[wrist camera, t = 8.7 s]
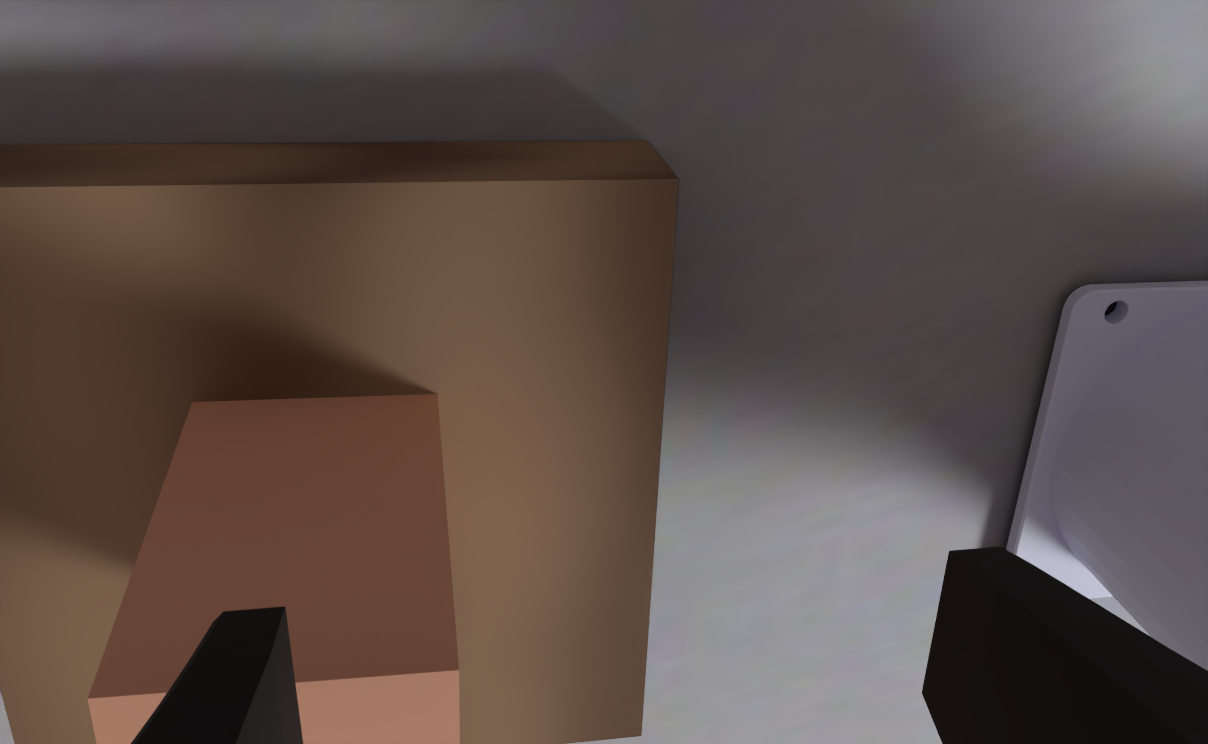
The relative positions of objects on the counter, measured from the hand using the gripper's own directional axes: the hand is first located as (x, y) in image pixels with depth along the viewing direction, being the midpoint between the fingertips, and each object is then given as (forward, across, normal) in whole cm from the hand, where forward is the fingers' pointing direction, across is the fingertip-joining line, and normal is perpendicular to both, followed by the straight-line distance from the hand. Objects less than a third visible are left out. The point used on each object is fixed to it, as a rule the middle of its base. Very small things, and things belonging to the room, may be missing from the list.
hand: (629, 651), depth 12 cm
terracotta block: (+8, +4, +3) cm, 9 cm away
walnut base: (+10, +4, +3) cm, 11 cm away
